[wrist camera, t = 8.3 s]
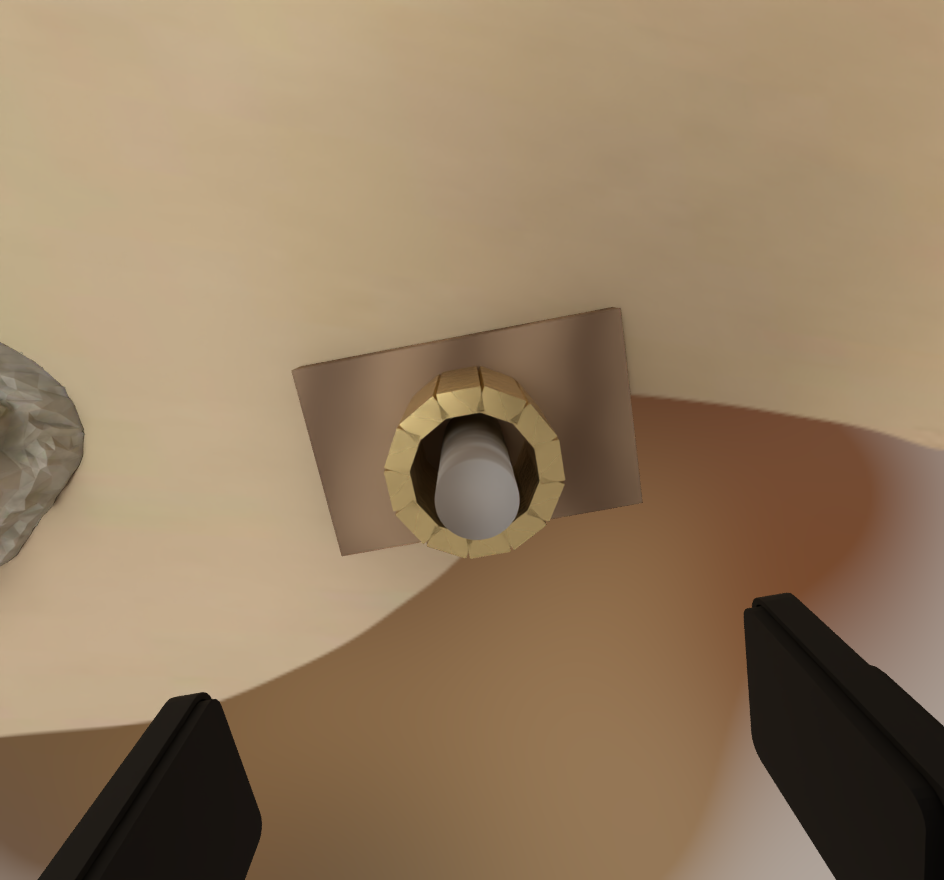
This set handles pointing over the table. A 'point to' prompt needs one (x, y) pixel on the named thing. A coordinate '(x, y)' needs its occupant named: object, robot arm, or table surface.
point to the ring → (418, 478)
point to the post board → (474, 427)
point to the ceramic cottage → (32, 446)
